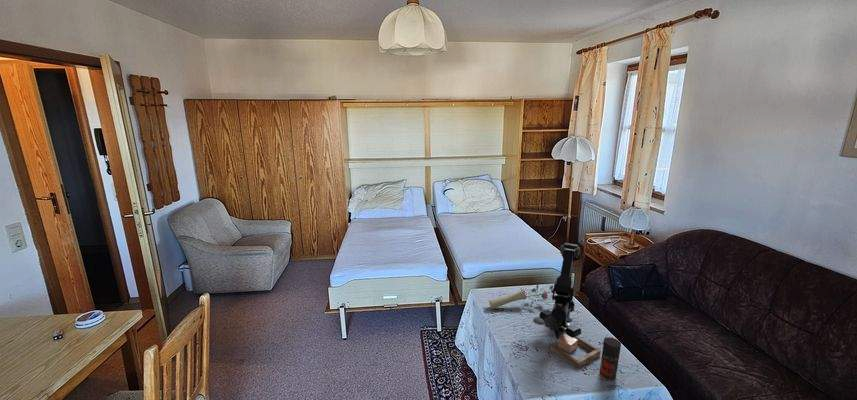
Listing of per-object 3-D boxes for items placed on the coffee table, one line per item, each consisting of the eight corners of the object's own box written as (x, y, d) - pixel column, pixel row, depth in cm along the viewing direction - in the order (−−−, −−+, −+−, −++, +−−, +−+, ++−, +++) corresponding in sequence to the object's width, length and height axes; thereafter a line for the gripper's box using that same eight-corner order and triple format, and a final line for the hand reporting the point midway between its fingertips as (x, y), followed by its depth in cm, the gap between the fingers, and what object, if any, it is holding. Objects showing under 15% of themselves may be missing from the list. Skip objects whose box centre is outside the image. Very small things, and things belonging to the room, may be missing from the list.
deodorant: (596, 369, 145) (600, 337, 141) (610, 369, 145) (615, 336, 142) (604, 380, 139) (609, 347, 136) (619, 379, 140) (624, 346, 136)
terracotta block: (564, 341, 163) (565, 333, 162) (577, 347, 159) (578, 339, 158) (557, 346, 159) (558, 338, 158) (570, 353, 155) (570, 345, 154)
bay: (572, 338, 165) (572, 333, 164) (600, 355, 153) (600, 350, 153) (550, 349, 157) (550, 344, 157) (577, 368, 146) (578, 363, 145)
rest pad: (539, 316, 182) (539, 315, 182) (548, 322, 177) (548, 321, 177) (530, 319, 179) (530, 319, 179) (540, 325, 174) (540, 325, 174)
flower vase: (491, 317, 195) (551, 299, 198) (498, 323, 183) (561, 304, 186) (486, 296, 195) (545, 278, 199) (492, 301, 183) (555, 282, 187)
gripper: (532, 303, 162) (529, 334, 166) (566, 324, 147) (563, 357, 151) (549, 297, 168) (546, 326, 172) (583, 316, 153) (579, 348, 156)
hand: (557, 339), depth 163 cm, fingers closed
